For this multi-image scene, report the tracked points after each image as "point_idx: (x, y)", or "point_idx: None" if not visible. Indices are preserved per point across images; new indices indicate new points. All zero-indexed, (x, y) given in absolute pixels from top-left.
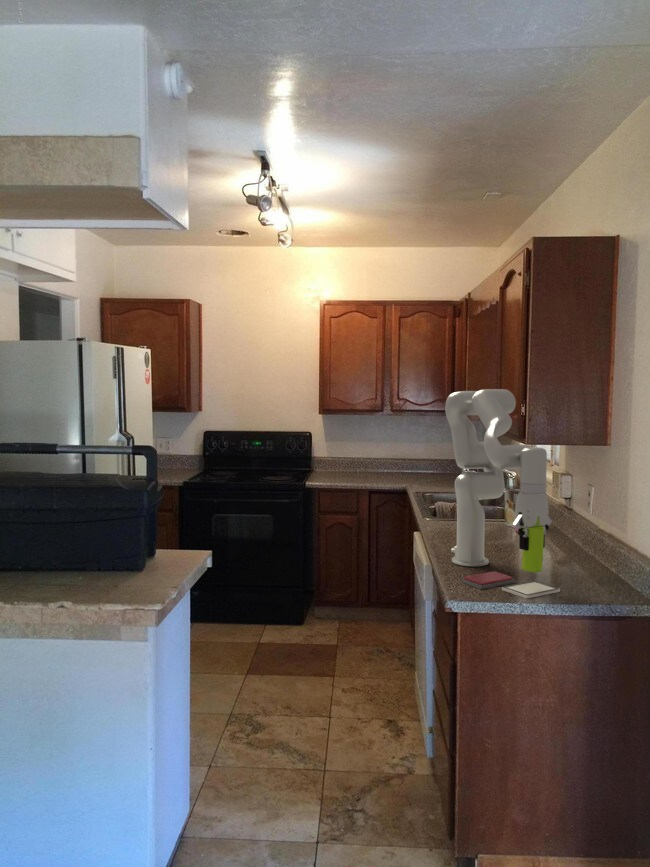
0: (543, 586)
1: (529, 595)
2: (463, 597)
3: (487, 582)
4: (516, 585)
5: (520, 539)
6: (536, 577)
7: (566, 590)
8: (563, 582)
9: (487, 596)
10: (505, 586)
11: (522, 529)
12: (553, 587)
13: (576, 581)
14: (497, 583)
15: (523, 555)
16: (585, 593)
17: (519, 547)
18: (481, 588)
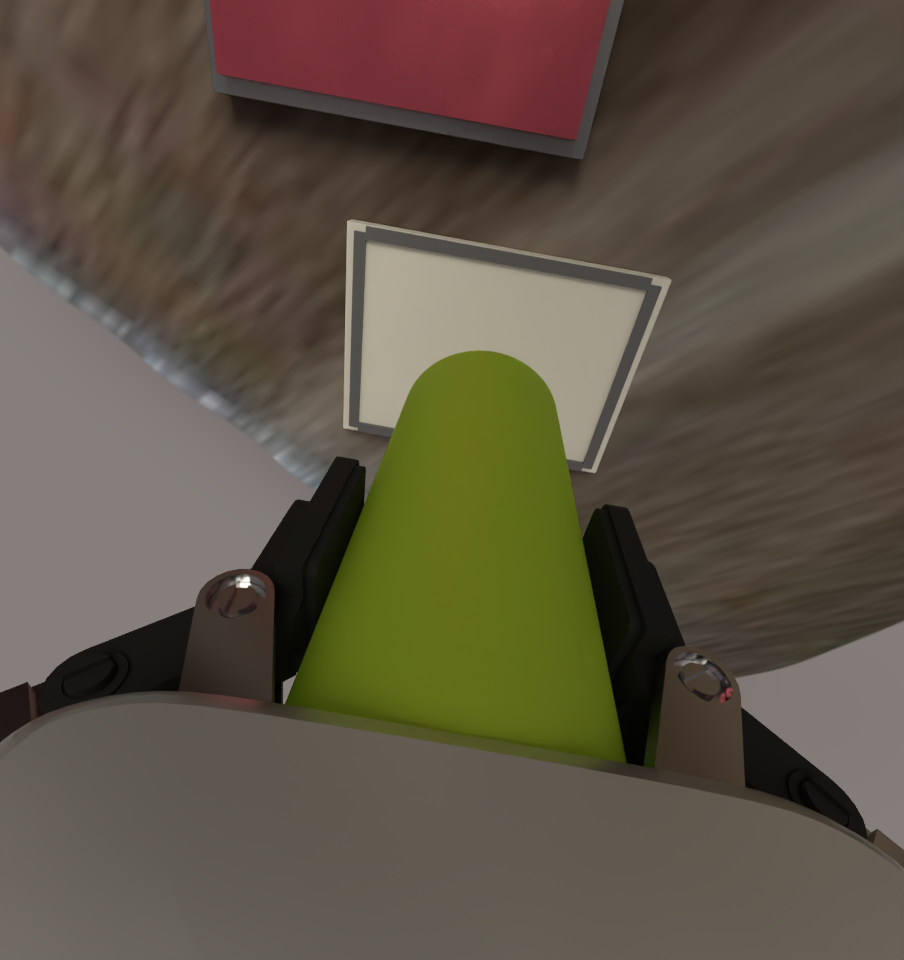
0: (578, 392)
1: (366, 431)
2: (12, 157)
3: (286, 88)
4: (469, 261)
5: (261, 566)
6: (868, 167)
7: (641, 473)
8: (816, 385)
9: (177, 253)
10: (373, 236)
11: (256, 691)
12: (591, 443)
13: (889, 423)
14: (390, 123)
15: (385, 451)
16: (650, 545)
17: (334, 463)
18: (229, 95)
